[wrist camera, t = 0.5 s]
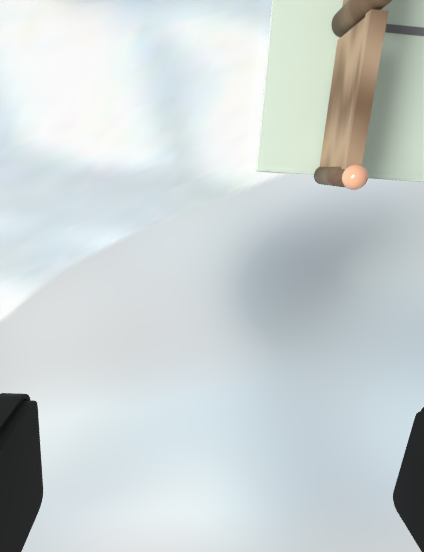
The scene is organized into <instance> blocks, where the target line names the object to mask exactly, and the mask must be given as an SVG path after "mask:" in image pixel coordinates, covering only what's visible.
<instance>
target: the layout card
mask: <svg viewBox="0 0 424 552" xmlns="http://www.w3.org/2000/svg"><path fill="white" fill-rule="evenodd" d="M342 6H343V0H272V10H271V20H270V31H269V42H268V52H267V63H266V73H265V84H264V94H263V105H262V115H261V126H260V136H259V147H258V157H257V168H256V171H269V172H284V173H300V174H314V173H315V171H316V169H317V168H318V167H320V160H321V153H322V146H323V139H324V132H325V125H326V118H327V111H328V104H329V97H330V90H331V83H332V76H333V69H334V62H335V55H336V48H337V41H338V39H340V37H337V36H336V35H335V34H334V33H333V30H332V25H331V24H332V19H333V17H334V15H335V14H336V13H337V12H338V11H339V10H340V9H341V8H342ZM381 10H384V11H389V12H388V18H387V23H386V29H385V35H384V41H383V46H382V52H381V58H380V63H379V69H378V75H377V81H376V86H375V92H374V98H373V104H372V109H371V115H370V121H369V126H368V132H367V138H366V144H365V149H364V155H363V161H362V166H363V167H365V168H366V170H367V172H368V178H375V179H391V180H404V181H419V182H424V0H392V1H391V2H390V3H389V4H387V5H386V6H385V7H384V8H382V9H381Z"/></svg>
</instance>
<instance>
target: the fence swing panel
mask: <svg viewBox="0 0 424 552" xmlns="http://www.w3.org/2000/svg"><path fill="white" fill-rule="evenodd" d="M388 12H389V11H384V10H375V9H371V10H370V11H369V12H367V13H366V15H365V18H363V19H362V20H361V21H360V22H359V23H357V24H356V25H355V26H354V27H353V28H352V29H350V30H349V31H348V32H347V33H346V34H344V35H343V36H342V37H341V38H340V39H338V41H337V48H336V55H335V62H334V69H333V76H332V83H331V90H330V97H329V104H328V111H327V118H326V125H325V132H324V139H323V146H322V153H321V160H320V167H318V168H317V169H316V171H315V173H314V179H315V181H316V182H317V183H319V184H324V185H332V186H340V187H347V188H349V189H352V190H356V189H359V188H361V187H363V186H364V185H365V184H366V182H367V180H368V172H367V170H366V168H365V167H363V166H362V161H363V155H364V149H365V144H366V138H367V132H368V126H369V121H370V115H371V109H372V104H373V98H374V92H375V86H376V81H377V75H378V69H379V63H380V58H381V52H382V46H383V41H384V35H385V29H386V23H387V18H388Z"/></svg>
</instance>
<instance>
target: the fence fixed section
mask: <svg viewBox="0 0 424 552" xmlns="http://www.w3.org/2000/svg"><path fill="white" fill-rule="evenodd" d="M391 1H392V0H343V6H342V8H341V9H340V10H339V11H338V12H337V13H336V14H335V15H334V17H333V19H332V24H331V25H332V30H333V33H334V34H335V35H336V36H337V37H340V38H341V37H342V36H343V35H344V34H346V33H347V32H348V31H349V30H350V29H352V28H353V27H354V26H355V25H356V24H357V23H359V22H360V21H361V20H362V19H363V18H365V15H366V13H367V12H369V11H370V10H371V9H375V10H381V9H382V8H384V7H385V6H386V5H387V4H389V3H390V2H391Z"/></svg>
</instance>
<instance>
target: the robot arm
mask: <svg viewBox="0 0 424 552" xmlns="http://www.w3.org/2000/svg"><path fill="white" fill-rule="evenodd" d="M42 498H43V482H42V466H41V451H40V436H39V421H38V407H37V402H36V401H30V397H29V396H28V395H27V394H10V393H8V394H7V393H2V394H0V552H21V551H22V549H23V546H24V544H25V542H26V539H27V537H28V535H29V532H30V530H31V527H32V525H33V523H34V521H35V518H36V516H37V514H38V511H39V509H40V505H41V502H42ZM393 501H394V505H395V508H396V510H397V512H398V513H399V515H400V517H401V518H402V520H403V522H404V523H405V525H406V527H407V528H408V530H409V531H410V533H411V535H412V536H413V538H414V540H415V541H416V543H417V544H418V546H419V548H420V549H421V551H422V552H424V407H423V408H422V410H421V412H418V413H417V414H416V416H415V420H414V423H413V427H412V430H411V433H410V437H409V440H408V444H407V447H406V451H405V454H404V458H403V461H402V465H401V468H400V472H399V476H398V479H397V482H396V486H395V489H394V493H393Z"/></svg>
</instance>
